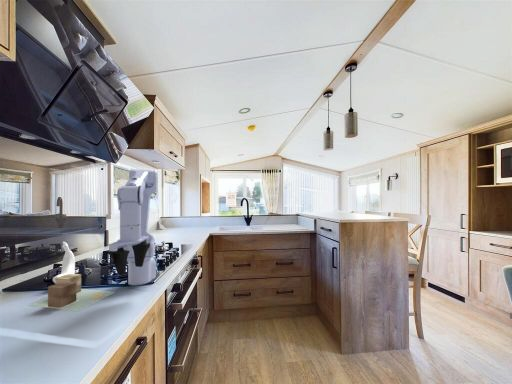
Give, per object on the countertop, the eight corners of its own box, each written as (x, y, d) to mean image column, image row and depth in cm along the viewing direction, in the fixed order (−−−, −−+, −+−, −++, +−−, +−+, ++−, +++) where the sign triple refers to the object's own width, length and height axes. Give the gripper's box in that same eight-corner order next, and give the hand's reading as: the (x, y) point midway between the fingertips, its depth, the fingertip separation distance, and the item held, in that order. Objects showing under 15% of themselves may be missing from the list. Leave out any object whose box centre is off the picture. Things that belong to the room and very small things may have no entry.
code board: (72, 291, 83) (72, 288, 83) (115, 295, 80) (115, 291, 80) (27, 309, 70) (28, 305, 70) (76, 314, 67) (76, 311, 67)
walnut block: (63, 299, 74) (63, 281, 74) (76, 300, 73) (76, 282, 73) (47, 306, 70) (48, 286, 70) (61, 307, 69) (61, 288, 69)
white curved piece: (52, 294, 81) (52, 249, 81) (61, 278, 97) (61, 240, 97) (70, 291, 83) (70, 247, 84) (76, 275, 100) (76, 239, 100)
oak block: (69, 290, 82) (69, 273, 82) (81, 291, 81) (81, 274, 81) (55, 295, 77) (55, 278, 77) (67, 296, 76) (67, 279, 76)
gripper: (135, 222, 83) (135, 262, 83) (99, 227, 69) (99, 276, 69) (154, 222, 82) (154, 264, 82) (121, 228, 68) (121, 278, 67)
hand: (130, 270), depth 75 cm, fingers open, 7 cm apart
